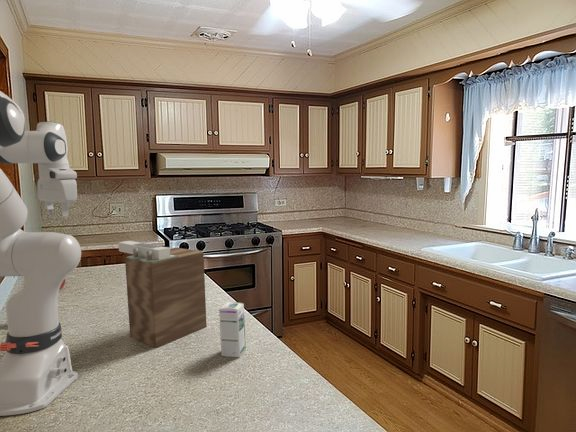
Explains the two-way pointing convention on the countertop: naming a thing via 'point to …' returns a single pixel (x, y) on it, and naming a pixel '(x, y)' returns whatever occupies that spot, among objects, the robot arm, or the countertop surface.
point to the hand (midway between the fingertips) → (58, 215)
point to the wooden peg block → (165, 296)
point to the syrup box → (232, 329)
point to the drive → (145, 249)
